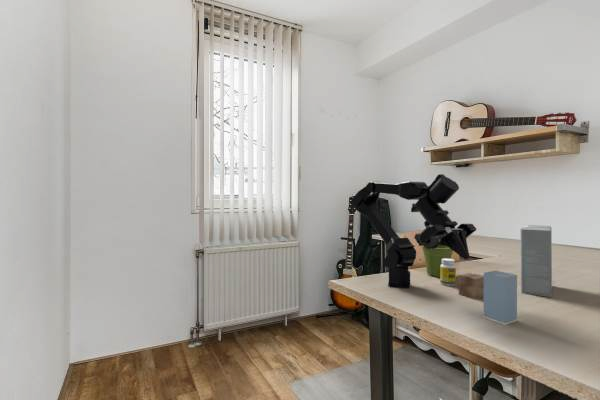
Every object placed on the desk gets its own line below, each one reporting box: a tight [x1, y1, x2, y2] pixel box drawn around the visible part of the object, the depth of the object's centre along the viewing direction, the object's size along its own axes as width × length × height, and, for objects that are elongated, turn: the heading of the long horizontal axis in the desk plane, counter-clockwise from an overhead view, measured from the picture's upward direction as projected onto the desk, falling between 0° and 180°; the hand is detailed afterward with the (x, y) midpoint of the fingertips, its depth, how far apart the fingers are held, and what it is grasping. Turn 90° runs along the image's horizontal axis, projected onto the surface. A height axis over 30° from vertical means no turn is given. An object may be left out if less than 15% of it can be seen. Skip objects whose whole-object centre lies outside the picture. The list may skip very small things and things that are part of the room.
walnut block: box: [458, 272, 484, 300], centre depth 92 cm, size 5×5×6 cm
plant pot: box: [421, 245, 454, 278], centre depth 116 cm, size 12×12×11 cm
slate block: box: [483, 270, 518, 326], centre depth 74 cm, size 5×5×11 cm
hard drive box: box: [519, 224, 553, 298], centre depth 98 cm, size 16×8×20 cm, turn 141°
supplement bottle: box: [439, 258, 457, 287], centre depth 104 cm, size 5×5×8 cm
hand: (467, 258), depth 81 cm, fingers closed
